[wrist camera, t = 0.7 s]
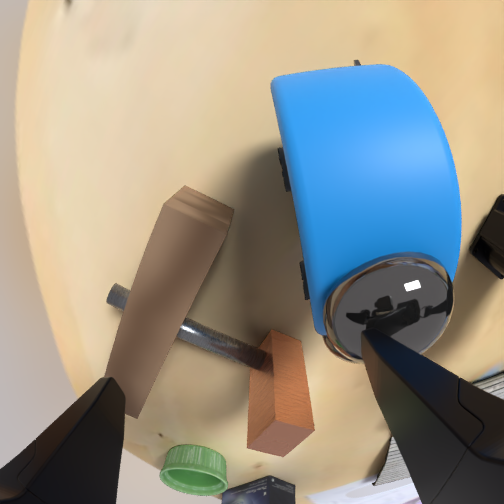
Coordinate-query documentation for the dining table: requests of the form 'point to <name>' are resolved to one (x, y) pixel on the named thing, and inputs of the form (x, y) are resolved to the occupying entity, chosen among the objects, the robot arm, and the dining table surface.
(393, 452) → the mat
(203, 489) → the ramekin
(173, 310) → the beam
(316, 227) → the alarm clock
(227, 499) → the small box
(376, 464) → the dining table surface
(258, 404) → the pin
